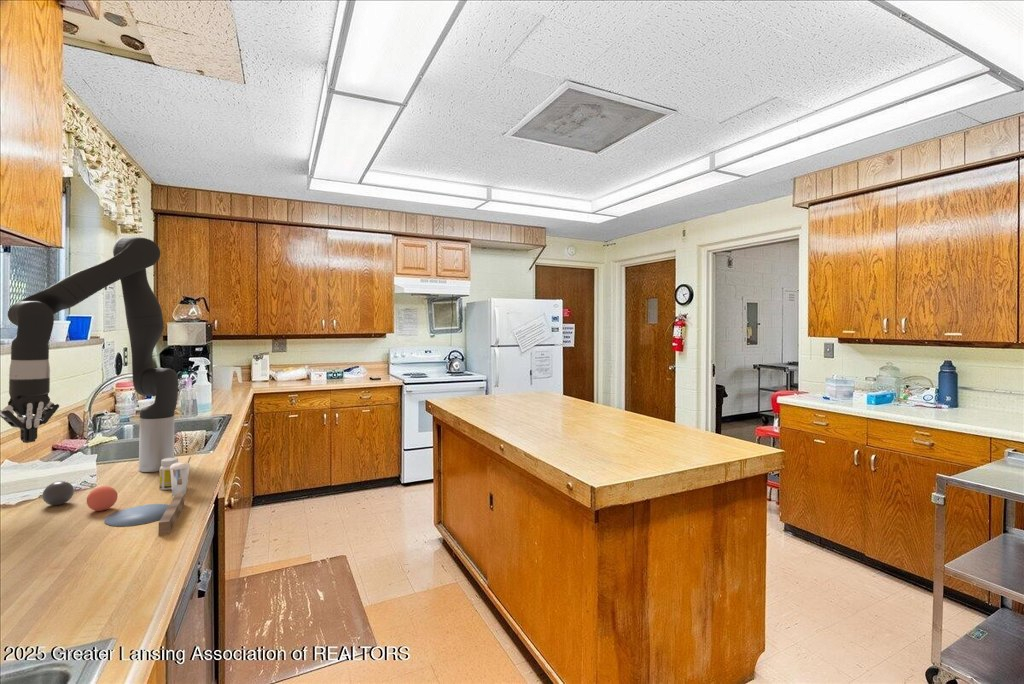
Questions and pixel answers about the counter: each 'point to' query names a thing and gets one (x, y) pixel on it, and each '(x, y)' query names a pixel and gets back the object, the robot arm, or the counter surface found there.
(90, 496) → the red ball
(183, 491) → the milkshake
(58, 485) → the dark gray ball
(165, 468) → the supplement bottle
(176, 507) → the stopper rail
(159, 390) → the robot arm
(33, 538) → the counter surface
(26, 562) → the counter surface
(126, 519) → the blue-grey flat disc
